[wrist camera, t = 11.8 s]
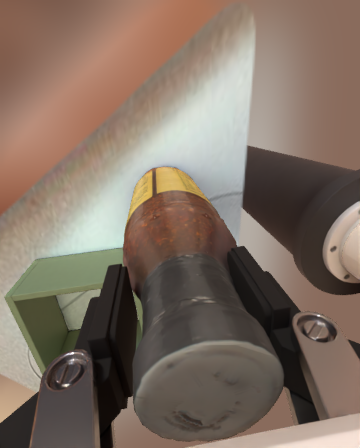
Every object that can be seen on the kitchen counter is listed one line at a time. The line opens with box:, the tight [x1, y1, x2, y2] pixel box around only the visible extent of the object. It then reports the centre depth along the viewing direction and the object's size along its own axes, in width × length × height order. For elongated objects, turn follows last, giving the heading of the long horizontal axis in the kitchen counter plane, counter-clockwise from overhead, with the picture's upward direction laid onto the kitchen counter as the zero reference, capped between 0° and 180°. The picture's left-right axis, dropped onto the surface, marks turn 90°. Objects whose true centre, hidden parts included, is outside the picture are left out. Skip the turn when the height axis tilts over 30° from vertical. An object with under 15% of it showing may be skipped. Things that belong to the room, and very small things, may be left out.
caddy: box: [4, 248, 143, 375], centre depth 25 cm, size 11×11×6 cm
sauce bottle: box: [123, 167, 284, 442], centre depth 15 cm, size 7×6×20 cm
